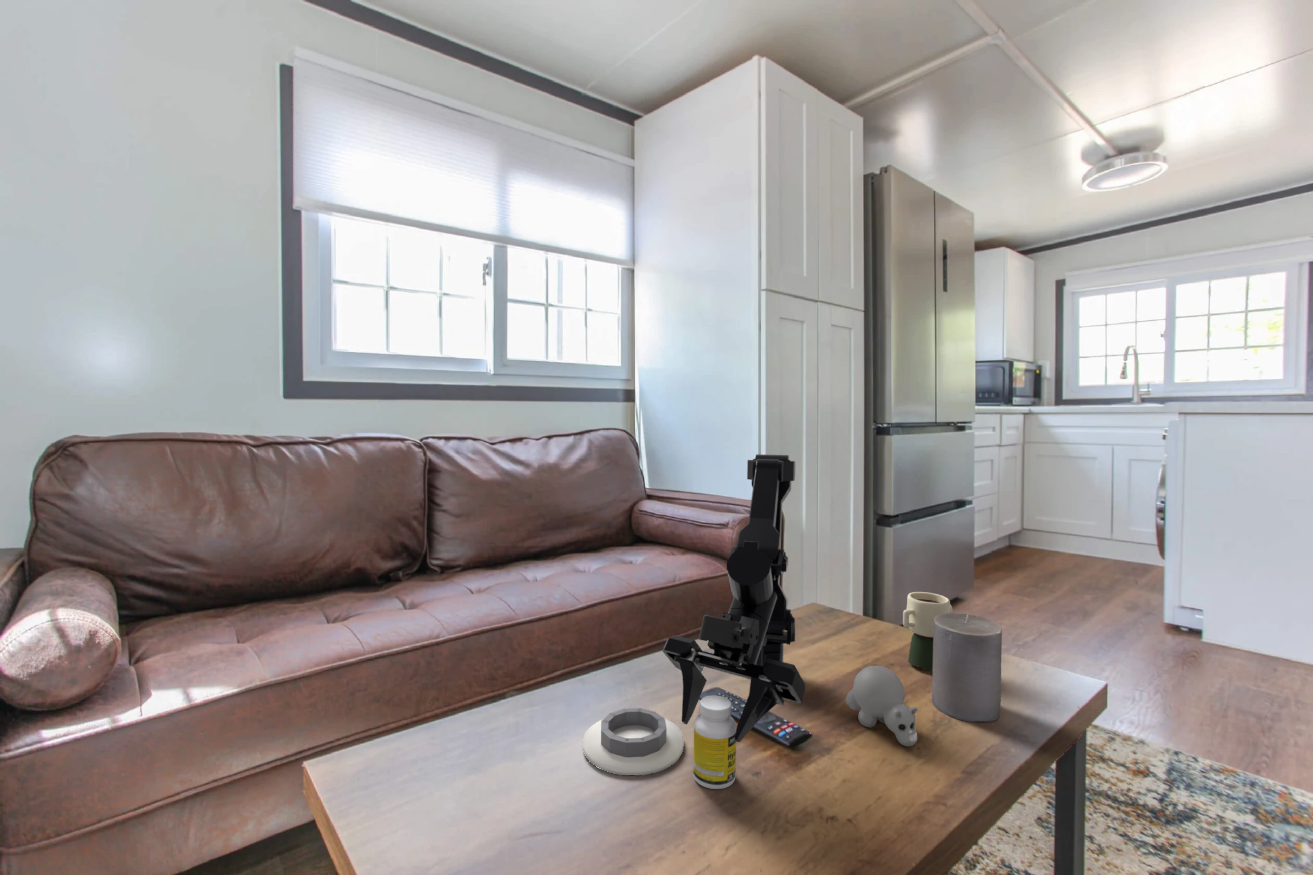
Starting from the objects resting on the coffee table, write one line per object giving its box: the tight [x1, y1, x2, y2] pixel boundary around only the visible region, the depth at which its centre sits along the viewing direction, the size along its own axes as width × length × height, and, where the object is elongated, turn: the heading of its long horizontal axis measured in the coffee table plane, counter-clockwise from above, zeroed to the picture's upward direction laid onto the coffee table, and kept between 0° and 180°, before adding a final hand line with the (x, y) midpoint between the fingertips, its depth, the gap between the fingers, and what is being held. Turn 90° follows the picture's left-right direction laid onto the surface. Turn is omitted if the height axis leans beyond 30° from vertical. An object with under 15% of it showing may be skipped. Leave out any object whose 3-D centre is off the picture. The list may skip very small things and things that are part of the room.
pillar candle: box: [931, 612, 1003, 723], centre depth 94 cm, size 10×10×15 cm
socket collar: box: [582, 707, 685, 776], centre depth 83 cm, size 14×14×3 cm
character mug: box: [902, 591, 953, 672], centre depth 109 cm, size 11×7×13 cm, turn 109°
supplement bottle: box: [692, 694, 737, 790], centre depth 75 cm, size 5×5×10 cm
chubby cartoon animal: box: [845, 665, 918, 747], centre depth 87 cm, size 7×12×8 cm, turn 17°
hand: (709, 731), depth 74 cm, fingers open, 7 cm apart
